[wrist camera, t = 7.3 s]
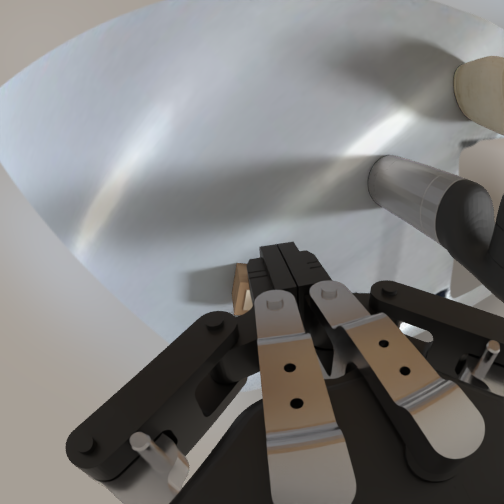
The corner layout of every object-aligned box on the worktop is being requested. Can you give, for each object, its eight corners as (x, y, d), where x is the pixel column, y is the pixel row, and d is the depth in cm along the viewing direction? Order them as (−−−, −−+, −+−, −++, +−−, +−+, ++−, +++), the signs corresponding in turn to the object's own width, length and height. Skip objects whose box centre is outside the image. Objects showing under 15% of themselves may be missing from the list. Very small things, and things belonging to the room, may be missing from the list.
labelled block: (272, 266, 47) (280, 286, 42) (265, 296, 50) (272, 317, 44) (236, 262, 46) (240, 282, 41) (231, 293, 49) (234, 315, 43)
